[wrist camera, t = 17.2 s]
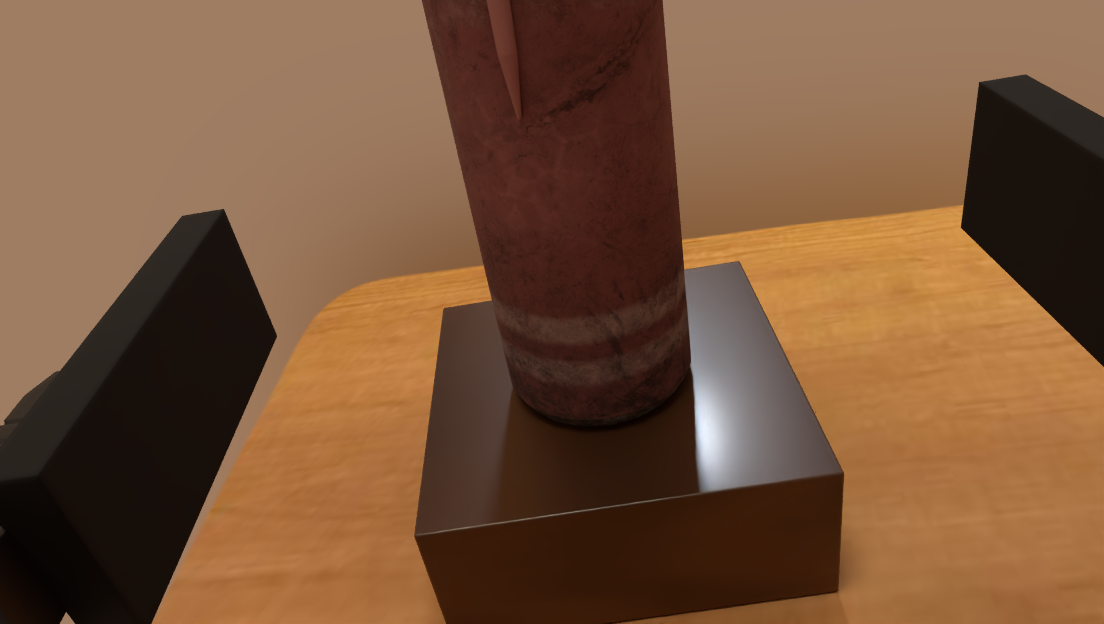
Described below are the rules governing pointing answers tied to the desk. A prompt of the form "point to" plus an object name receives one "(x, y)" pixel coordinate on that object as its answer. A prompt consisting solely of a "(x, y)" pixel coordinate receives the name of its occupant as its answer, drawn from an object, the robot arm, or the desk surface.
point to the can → (572, 195)
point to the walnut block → (628, 481)
